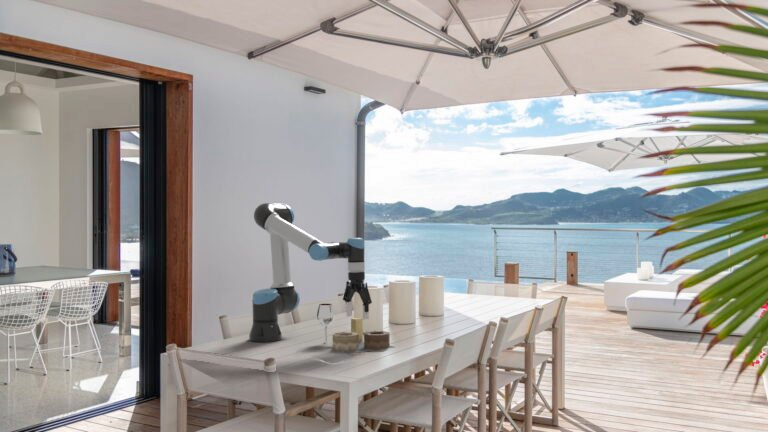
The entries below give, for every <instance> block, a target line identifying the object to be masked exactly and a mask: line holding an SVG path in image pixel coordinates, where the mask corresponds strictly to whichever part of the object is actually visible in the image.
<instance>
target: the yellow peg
mask: <svg viewBox="0 0 768 432" xmlns="http://www.w3.org/2000/svg"><path fill="white" fill-rule="evenodd" d="M363 329H364V328H363V318H361V317H353V318H350V332H354V333H358V335H359V343H362V342H364V333H363Z"/></svg>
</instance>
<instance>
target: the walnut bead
mask: <svg viewBox="0 0 768 432" xmlns="http://www.w3.org/2000/svg"><path fill="white" fill-rule="evenodd" d="M390 337H391V336H390V332H389V331H385V330H369V331H365V332H364V333H363V342H364V347H365V348H368V349H381V350H385V349H384V348H388V347H389V346H391V345H390V343H391V342H390ZM388 349H389V348H388Z"/></svg>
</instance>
